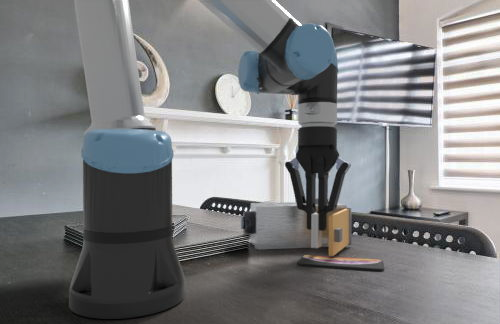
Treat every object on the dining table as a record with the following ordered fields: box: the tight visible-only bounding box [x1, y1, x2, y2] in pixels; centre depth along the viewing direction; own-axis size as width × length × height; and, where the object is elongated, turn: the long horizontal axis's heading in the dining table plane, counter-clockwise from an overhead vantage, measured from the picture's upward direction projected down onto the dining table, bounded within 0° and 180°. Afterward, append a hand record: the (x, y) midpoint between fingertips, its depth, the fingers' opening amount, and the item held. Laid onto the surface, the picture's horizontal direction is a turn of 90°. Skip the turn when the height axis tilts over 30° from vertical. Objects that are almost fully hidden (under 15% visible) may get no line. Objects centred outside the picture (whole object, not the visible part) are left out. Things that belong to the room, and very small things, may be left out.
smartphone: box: [296, 254, 385, 272], centre depth 73 cm, size 8×1×15 cm
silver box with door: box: [240, 197, 348, 250], centre depth 90 cm, size 23×8×10 cm, turn 98°
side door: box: [328, 207, 352, 257], centre depth 81 cm, size 14×2×8 cm, turn 153°
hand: (316, 246), depth 79 cm, fingers closed
